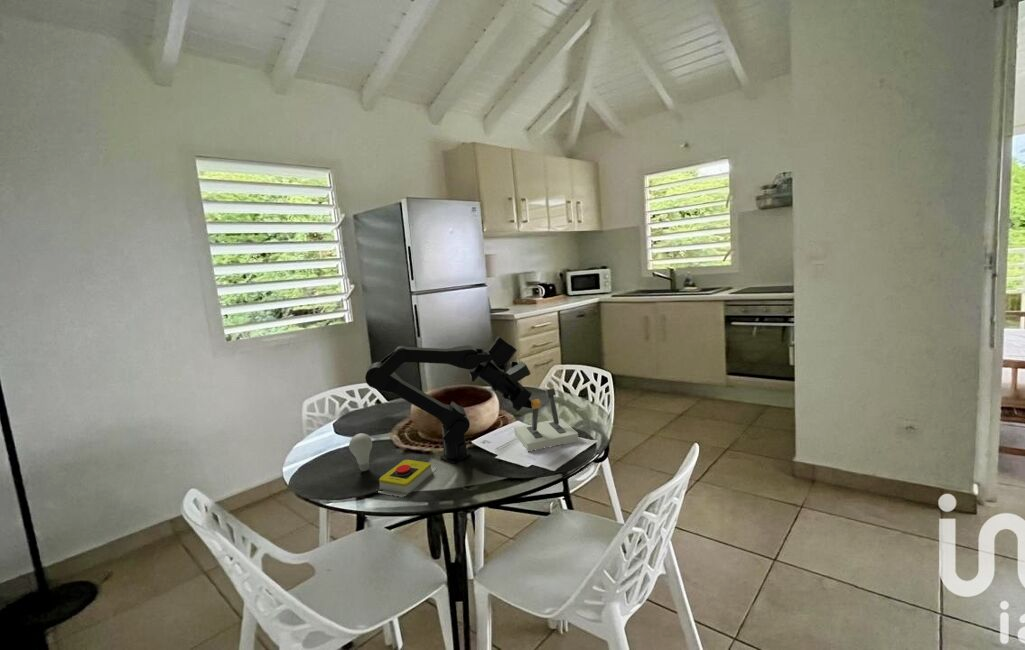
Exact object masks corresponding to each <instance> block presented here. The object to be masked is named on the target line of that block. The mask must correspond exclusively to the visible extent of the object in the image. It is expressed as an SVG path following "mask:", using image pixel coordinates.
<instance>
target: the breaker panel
mask: <svg viewBox="0 0 1025 650" xmlns="http://www.w3.org/2000/svg"><path fill="white" fill-rule="evenodd" d="M545 395H546V397H547V398H548V400H549V406H550V409H551V410H550V411H551V415H552V419H551V420H546V421H541V422H537V430H535V431H534V430H532V423H531V424H526V425H521V426H515V427H514V428H513V430H514V436H515V435H516V436H517V437H516V436H515V437H516V438H518V439H519V440H520V441H519V440H518V439H517V440H518V441H519V442H521V443H522V444H523V445H522V444H521V443H520V444H521V445H522V447H523V448H524V447H525V448H526V449H525V448H524V449H525V451H526V452H527V451H531V450H535V449H540V448H544V447H549V448H551V447H550V446H554V447H556V446H555V445H559V446H561V445H560V444H563V445H566V444H565V443H568V444H572V442H573V443H577V442H579V441H580V439H579V433H578V431H576V430H575V429H574V428H572V426H570V424H568V422H566V420H564V419H563V418H559V415H558V411H557V405H556V401H555V396H556V391H555V388H550V389H545ZM540 450H541V449H540ZM535 451H536V450H535ZM531 452H532V451H531Z"/></svg>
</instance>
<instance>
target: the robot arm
mask: <svg viewBox="0 0 1025 650" xmlns="http://www.w3.org/2000/svg"><path fill="white" fill-rule="evenodd" d="M517 351H518V349H517V348H516V347H514V346H513V345H512V344H511V343H509V342H508V341H506V340H505V339H503V338H502V337H501V336H499V335H498V336H497V337H496V338H495V340H494V342H493V343H492V344H491V345H490V346H489V347H488V349H487V348H475V346H473V345H459V346H454V347H451V348H436V347H418V346H405V345H399V346H397V347H396V348H395V349H394V350H393V351H391V353H389V354H387V356H384V358H382V359H381V360H380V361H376V362H373V363H371V365H370V366H368V369H367V371H366V374H365V378H364V379H365V382H366V384H367V386H368V387H370V388H373V389H375V390H378V391H380V392H384V393H390V394H394V395H396V396H397V397H399V398H401V399H403V400H405V401H406V402H408V403H410V404H412V405H414V407H416V408H419V409H420V410H422V411H424V412H425V413H427V414H429V415H430V416H432V417H434V418H436V419H437V420H438V421H439V422H440V423H441V424H442V426H441V431H442V432H441V433H442V435H441V436H442V437H441V439H442V447H443V448H442V449H443V454H442V455H440V457H439V458H440V459H441V460H444V461H446V462H449V463H452V464H457V463H459V462H461V461H462V460H464V459H466V458H467V457H469V456H471V452H469V451H468V449H467V442H466V437H465V434H466V433H467V432H468V431H469V430H470V425H471V424H470V420H469V417H468V414H467V412H466V410H465V408H464V406H462V405H461V406H460V405H458V404H457V403H456V402H454V401H452V400H451V402H450V404H445V403H442V402H441V401H440V400H438V399H436V398H434V397H433V396H431V395H429V394H427V393H426V392H424V391H422V390H420V389H418V388H417V387H415V386H414V385H412V384H410V383H408V382H406V381H405V380H403V379H402V378H401V377H400V376H399V375H398V374H397V373H396V372H395V371H396V370H397V369H398V368H399V367H401V365H403V364H404V363H416V364H417V363H419V364H421V363H422V364H443V365H450V366H452V367H457V368H459V369H460V368H461V369H464V370H468V373H469V379H470V381H471V383H472V382H473V383H474V382H475V381H476V380H477V379H478V378H479V379H480V380H481V381H482V382H483V383H485V384H486V385H488V386H489V387H490V388H491V389H492V390H493V391H495V392H497V393H498V394H500V395H501V396H502V397H503V398H504V399H505V400H507V401H508V402H509V405H510V406H511V408H513V409H514V410H515V411H516V412H520V411H521V410H522V408H526V409H531V410H533V409H532V407H531V399H530V398H531V396H532V392H530V391H529V390H528V389H527V388H525V386H523V384H521V383H520V382H519V381H521V380H523V379H524V378H527V377H528V376H530V375H531V371H530V369H529V367H528V366H527V364H526V363H525V362H523V361H519V362H517V361H516V360H512V361H510V360H511V359H512V357H513V356H514V355H515V354H516V353H517ZM509 361H510V362H509ZM508 363H509V368H508V370H507V371H505V370H504V369H501V368H500V366H506V365H507V364H508Z"/></svg>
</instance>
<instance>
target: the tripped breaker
mask: <svg viewBox="0 0 1025 650" xmlns="http://www.w3.org/2000/svg"><path fill="white" fill-rule="evenodd" d="M530 401H531V407H532V409H531V410H532V416H531V417H532V418H531V424H532V430H534V431H535V430H537V423H539V421H538V420H539V419H538V417H539V409H541V406H542V402H541V400H540V399H539V398H535V399H530Z"/></svg>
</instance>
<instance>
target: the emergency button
mask: <svg viewBox="0 0 1025 650" xmlns="http://www.w3.org/2000/svg"><path fill="white" fill-rule="evenodd" d="M436 471H437V468H436V467H433V466H432V465H431V463H430V462H426V461H419V460H411V459H403V460H402V461H401V462H400V463H398V464H397V465H396V466H394V467H393V468H391V469H390V470H389V471H387V472H386V473H385V474H383V475H382V476H381V477H380V478H379V479H378V480H379V488H380V489H383V491H378V494H381V495H382V494H383V495H388V496H392V495H394V496H393V497H397V496H399V497H398V498H405V497H406V495H407V494H408V493H409V494H411V492H412V490H413V489H414V490H415V489H416V488H417V487H419V486H420V485H421V484H422V483H423V482H424V481H426V479H427V478H429V477H430V476H431V475H433V473H434V472H436ZM414 490H413V491H414ZM399 493H400V494H399ZM409 494H408V495H409ZM408 495H407V496H408ZM404 496H405V497H404Z"/></svg>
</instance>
